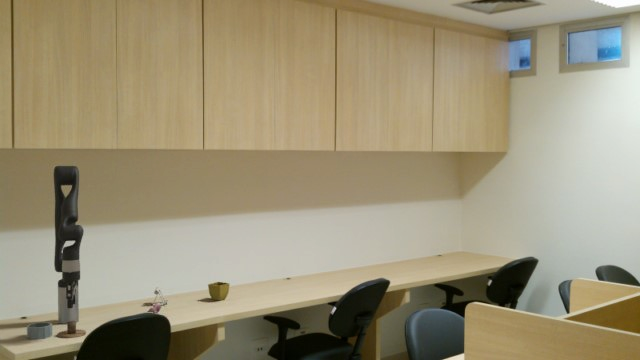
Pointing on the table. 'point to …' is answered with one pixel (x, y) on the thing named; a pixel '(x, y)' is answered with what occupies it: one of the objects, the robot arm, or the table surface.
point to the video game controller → (155, 308)
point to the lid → (71, 331)
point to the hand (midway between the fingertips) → (71, 306)
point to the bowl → (39, 330)
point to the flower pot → (218, 290)
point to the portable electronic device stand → (160, 295)
